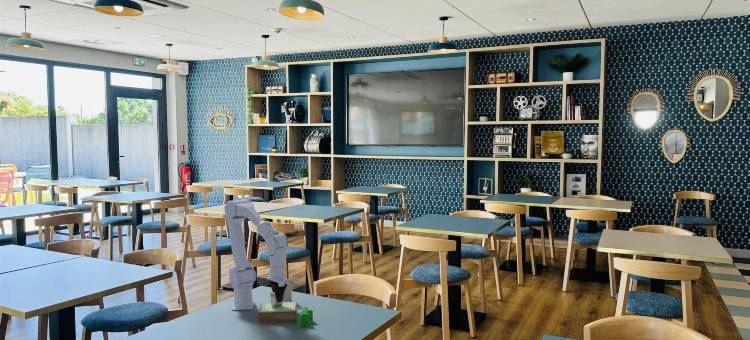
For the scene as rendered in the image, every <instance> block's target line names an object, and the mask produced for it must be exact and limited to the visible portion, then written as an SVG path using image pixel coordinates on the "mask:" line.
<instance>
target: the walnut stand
mask: <svg viewBox="0 0 750 340" xmlns="http://www.w3.org/2000/svg"><path fill="white" fill-rule="evenodd" d="M257 317H258V324H280V323H281V324H282V323H296V322H297V323H298V302H296V301H292V302H283V305H282V306H278V307H273V306H271V302H261V304H260V306H259V310H258V316H257Z"/></svg>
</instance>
